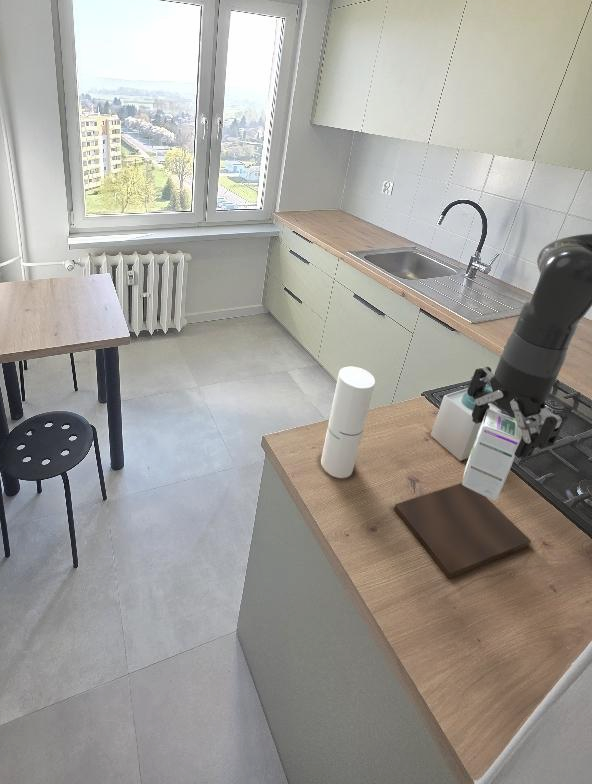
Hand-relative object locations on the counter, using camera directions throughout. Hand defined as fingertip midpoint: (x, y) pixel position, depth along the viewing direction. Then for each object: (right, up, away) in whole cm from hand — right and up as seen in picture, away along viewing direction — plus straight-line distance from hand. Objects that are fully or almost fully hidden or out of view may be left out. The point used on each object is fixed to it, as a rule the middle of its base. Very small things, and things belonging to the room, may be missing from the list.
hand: (497, 437), depth 73 cm
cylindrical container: (-21, -16, +23) cm, 35 cm away
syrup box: (0, -10, +4) cm, 11 cm away
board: (-1, -22, +10) cm, 24 cm away
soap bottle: (+11, -14, +30) cm, 35 cm away
